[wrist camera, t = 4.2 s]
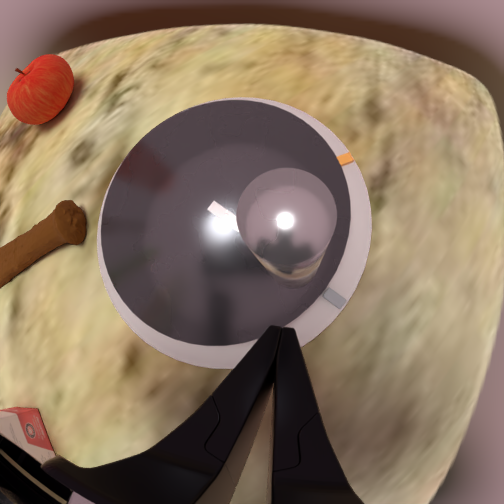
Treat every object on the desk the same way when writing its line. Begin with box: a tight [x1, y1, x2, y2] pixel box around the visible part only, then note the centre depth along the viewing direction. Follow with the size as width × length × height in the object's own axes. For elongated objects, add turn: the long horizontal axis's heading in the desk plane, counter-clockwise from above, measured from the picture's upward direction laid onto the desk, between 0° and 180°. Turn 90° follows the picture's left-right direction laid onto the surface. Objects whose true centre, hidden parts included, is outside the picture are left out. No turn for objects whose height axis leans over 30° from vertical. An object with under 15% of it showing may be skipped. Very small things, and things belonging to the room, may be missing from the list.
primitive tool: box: [0, 200, 86, 288], centre depth 20 cm, size 19×6×4 cm, turn 108°
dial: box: [101, 100, 351, 346], centre depth 13 cm, size 15×15×9 cm
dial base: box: [97, 97, 372, 369], centre depth 18 cm, size 18×18×1 cm
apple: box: [7, 54, 74, 124], centre depth 21 cm, size 8×8×8 cm
